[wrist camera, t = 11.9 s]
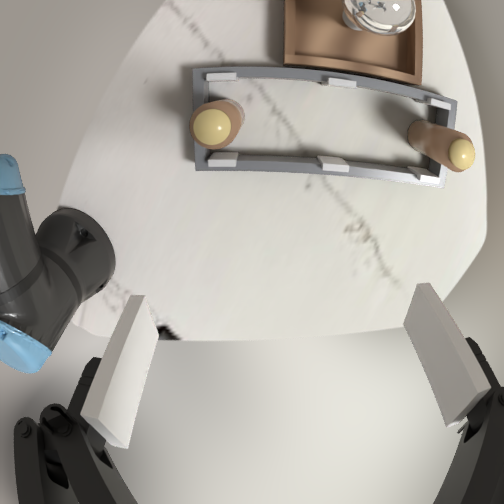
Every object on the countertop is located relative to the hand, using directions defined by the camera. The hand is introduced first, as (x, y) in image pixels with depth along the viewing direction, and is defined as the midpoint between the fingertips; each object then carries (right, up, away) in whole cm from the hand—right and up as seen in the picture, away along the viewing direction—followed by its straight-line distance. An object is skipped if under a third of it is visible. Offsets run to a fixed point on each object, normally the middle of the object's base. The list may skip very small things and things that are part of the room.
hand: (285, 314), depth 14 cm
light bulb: (+10, +29, +11) cm, 33 cm away
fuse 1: (-5, +19, +18) cm, 27 cm away
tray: (+10, +30, +11) cm, 33 cm away
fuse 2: (+20, +18, +18) cm, 32 cm away
